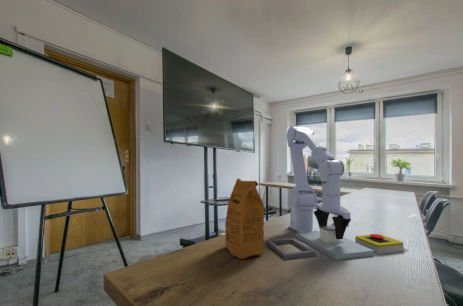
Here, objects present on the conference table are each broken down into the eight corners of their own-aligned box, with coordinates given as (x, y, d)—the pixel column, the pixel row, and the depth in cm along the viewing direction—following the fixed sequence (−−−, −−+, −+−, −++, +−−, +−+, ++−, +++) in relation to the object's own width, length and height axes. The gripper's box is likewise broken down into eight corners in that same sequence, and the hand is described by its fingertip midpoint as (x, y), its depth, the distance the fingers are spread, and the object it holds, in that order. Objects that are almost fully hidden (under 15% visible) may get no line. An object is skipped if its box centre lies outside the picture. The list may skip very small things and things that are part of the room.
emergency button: (350, 232, 75) (382, 229, 79) (350, 245, 74) (382, 242, 79) (375, 242, 66) (410, 238, 70) (375, 256, 65) (410, 252, 70)
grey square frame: (266, 243, 73) (266, 240, 73) (292, 241, 76) (292, 237, 76) (284, 259, 61) (285, 254, 61) (316, 255, 64) (316, 251, 64)
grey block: (320, 244, 73) (320, 226, 74) (332, 243, 75) (332, 225, 75) (327, 248, 70) (327, 229, 70) (339, 247, 71) (339, 228, 72)
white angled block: (323, 216, 104) (333, 201, 104) (343, 228, 102) (352, 213, 102) (325, 218, 100) (335, 202, 100) (345, 230, 99) (356, 214, 98)
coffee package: (247, 242, 74) (248, 178, 75) (267, 256, 62) (268, 180, 64) (220, 246, 70) (222, 178, 71) (236, 262, 58) (238, 181, 60)
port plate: (296, 237, 80) (296, 232, 80) (327, 234, 84) (327, 230, 84) (336, 260, 61) (336, 254, 61) (374, 255, 65) (374, 250, 65)
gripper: (307, 192, 79) (307, 229, 79) (337, 198, 66) (337, 243, 65) (323, 191, 81) (323, 228, 81) (355, 197, 67) (355, 241, 67)
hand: (330, 235), depth 73 cm, fingers open, 7 cm apart
